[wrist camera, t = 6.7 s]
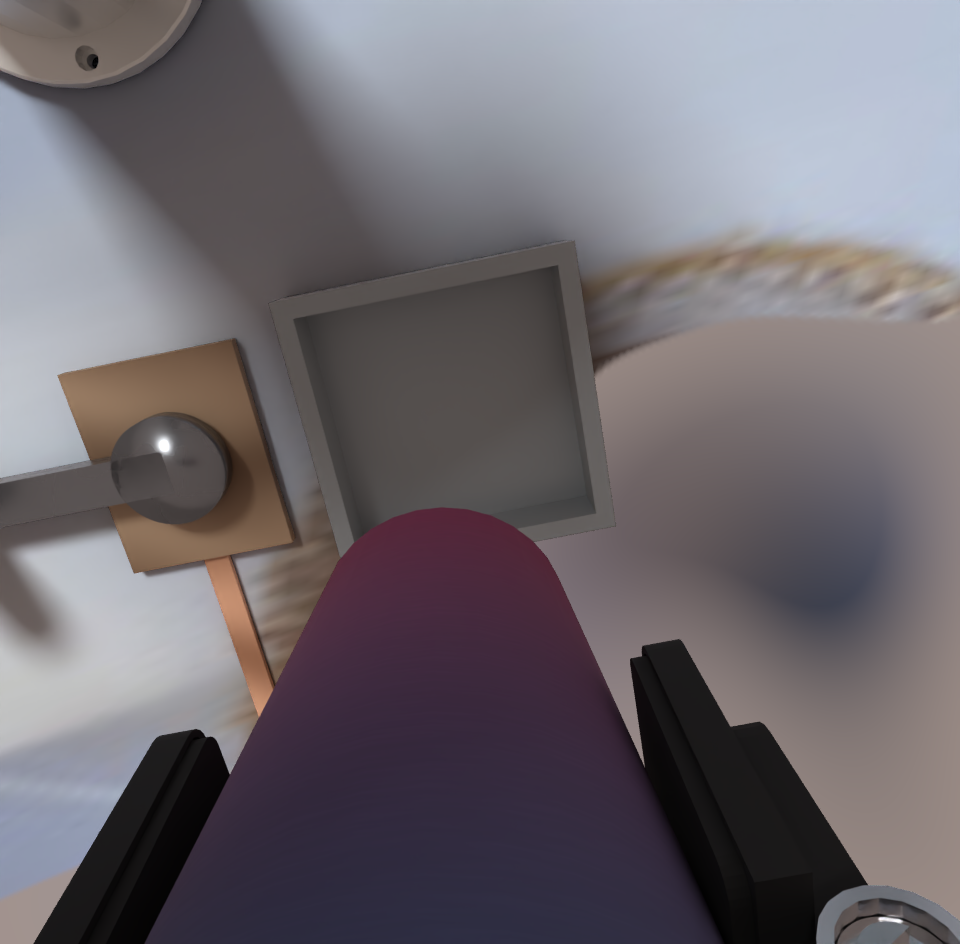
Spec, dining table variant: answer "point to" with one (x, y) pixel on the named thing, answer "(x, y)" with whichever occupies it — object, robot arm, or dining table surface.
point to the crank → (131, 476)
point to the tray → (452, 394)
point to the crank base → (243, 509)
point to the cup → (439, 770)
